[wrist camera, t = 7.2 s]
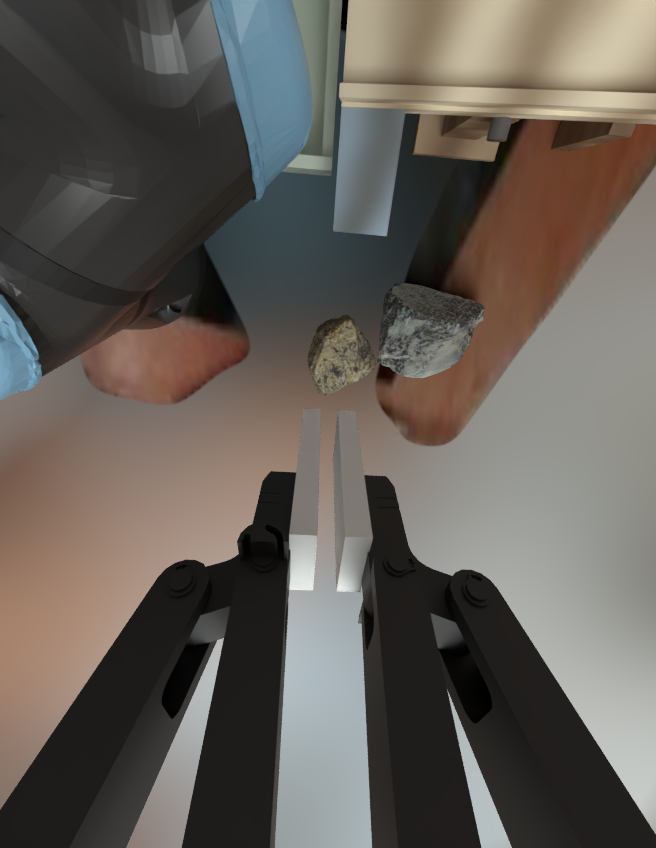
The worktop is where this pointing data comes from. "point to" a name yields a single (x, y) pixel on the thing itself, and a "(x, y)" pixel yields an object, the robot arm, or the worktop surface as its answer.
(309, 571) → the robot arm
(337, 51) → the bin
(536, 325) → the worktop surface
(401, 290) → the stone
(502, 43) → the lever
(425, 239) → the worktop surface
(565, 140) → the fulcrum
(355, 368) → the rock
